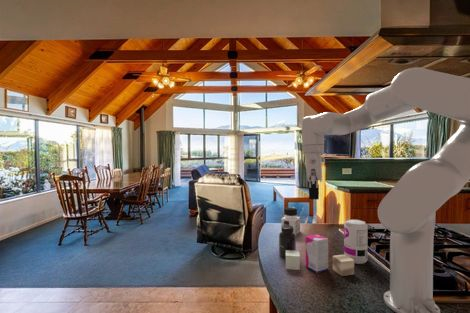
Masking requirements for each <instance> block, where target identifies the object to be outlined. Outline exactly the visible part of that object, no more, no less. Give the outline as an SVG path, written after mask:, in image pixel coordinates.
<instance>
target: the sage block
mask: <svg viewBox="0 0 470 313" xmlns="http://www.w3.org/2000/svg"><path fill="white" fill-rule="evenodd" d="M300 256H301V255H300V251H299V250H296V251H292V250H286V258H285V270H296V271H301V257H300Z"/></svg>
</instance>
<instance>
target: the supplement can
mask: <svg viewBox="0 0 470 313" xmlns="http://www.w3.org/2000/svg"><path fill="white" fill-rule="evenodd" d="M344 254H345V255H347V256H348V257H350V258H351V259H353V260H354V264H357V265H362V264H363V265H364V264H365V263H366V262H367V261H368V225H367V224H366V221H364V220H360V219H351V218H350V219H346V220H345V222H344V224H343V255H344Z"/></svg>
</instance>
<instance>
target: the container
mask: <svg viewBox="0 0 470 313" xmlns="http://www.w3.org/2000/svg"><path fill="white" fill-rule="evenodd" d="M283 210H284V212H283V214H284V216H283V217H281V219H280V222H281V223H280V224H281V226H280V228H281V229H282V226H283V225H291V226H293V230H294V232H293V233H294V234H295V235H296V236H297V234H299V233H300V232H301V217H300V216H298V208H296V207H293V206H287V207H285V208H284V209H283ZM281 232H282V231H281ZM281 232H280V233H281Z"/></svg>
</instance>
